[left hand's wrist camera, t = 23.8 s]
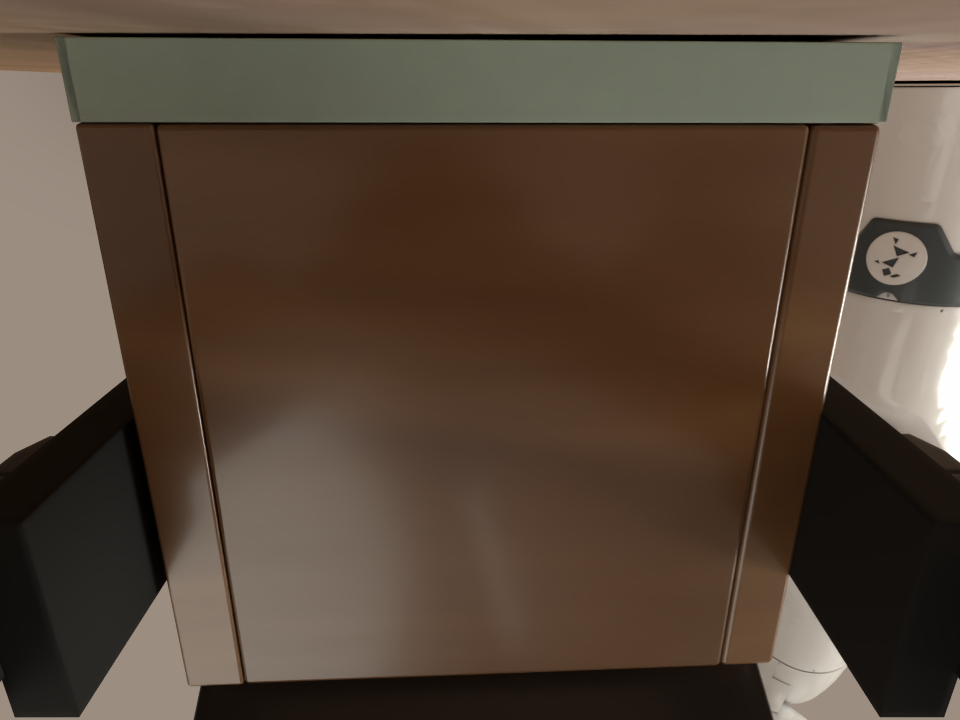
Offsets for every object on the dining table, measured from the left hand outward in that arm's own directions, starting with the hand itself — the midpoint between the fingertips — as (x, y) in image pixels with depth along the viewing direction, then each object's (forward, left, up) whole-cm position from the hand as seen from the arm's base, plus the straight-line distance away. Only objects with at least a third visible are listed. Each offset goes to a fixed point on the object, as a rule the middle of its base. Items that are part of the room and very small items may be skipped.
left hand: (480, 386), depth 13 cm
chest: (+3, 0, -6) cm, 7 cm away
